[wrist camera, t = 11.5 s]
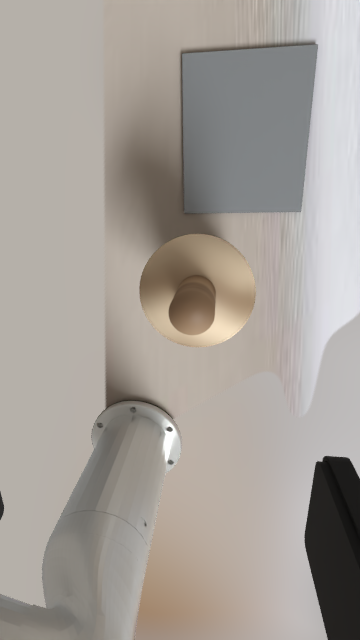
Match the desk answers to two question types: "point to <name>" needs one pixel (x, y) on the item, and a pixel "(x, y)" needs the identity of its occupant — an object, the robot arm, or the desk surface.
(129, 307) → the desk surface
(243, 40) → the desk surface
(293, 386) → the desk surface
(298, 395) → the desk surface
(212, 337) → the lid
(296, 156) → the mat
